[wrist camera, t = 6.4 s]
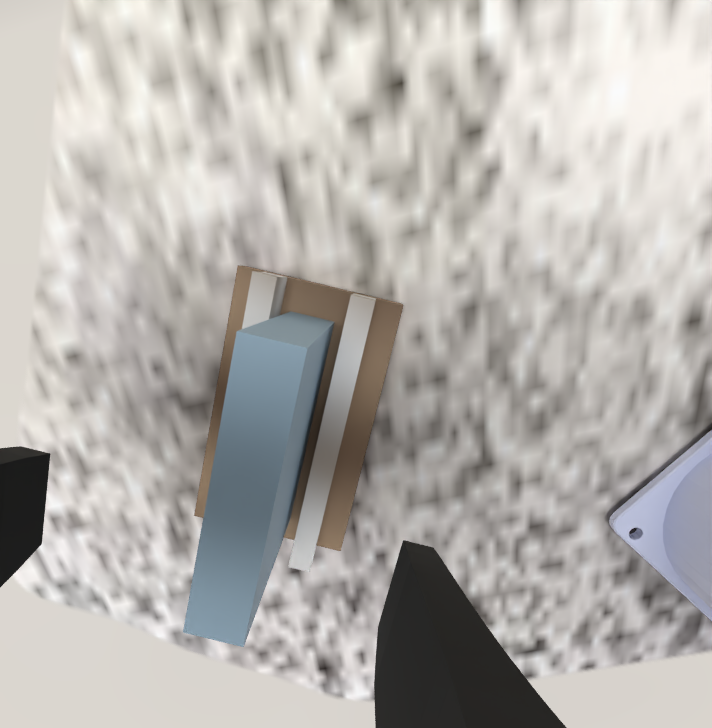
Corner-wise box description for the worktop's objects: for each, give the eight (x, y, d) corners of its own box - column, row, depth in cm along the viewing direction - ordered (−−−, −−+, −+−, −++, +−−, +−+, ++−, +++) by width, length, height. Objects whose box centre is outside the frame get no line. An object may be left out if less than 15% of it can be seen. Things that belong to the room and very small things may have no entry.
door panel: (290, 519, 17) (243, 646, 11) (250, 509, 17) (182, 632, 11) (334, 321, 15) (307, 348, 9) (291, 311, 15) (236, 330, 9)
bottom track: (246, 266, 16) (221, 263, 13) (401, 303, 16) (406, 308, 13) (204, 502, 18) (175, 539, 15) (342, 536, 18) (336, 578, 15)
